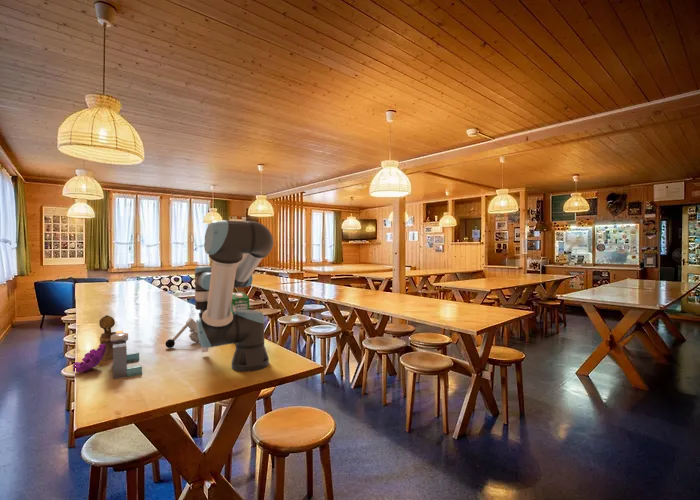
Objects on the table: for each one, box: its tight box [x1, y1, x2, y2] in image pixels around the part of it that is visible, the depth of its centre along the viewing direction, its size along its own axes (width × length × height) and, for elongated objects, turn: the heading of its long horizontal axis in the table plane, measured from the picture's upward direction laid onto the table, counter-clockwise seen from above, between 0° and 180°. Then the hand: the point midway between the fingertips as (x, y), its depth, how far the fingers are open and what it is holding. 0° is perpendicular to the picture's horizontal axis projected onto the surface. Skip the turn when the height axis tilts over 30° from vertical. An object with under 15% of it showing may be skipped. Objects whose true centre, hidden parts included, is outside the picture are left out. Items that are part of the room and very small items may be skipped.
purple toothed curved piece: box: [72, 344, 106, 373], centre depth 147 cm, size 11×15×10 cm
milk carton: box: [230, 291, 250, 315], centre depth 192 cm, size 9×9×25 cm
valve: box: [165, 317, 200, 349], centre depth 183 cm, size 10×18×15 cm
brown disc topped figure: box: [99, 315, 116, 361], centre depth 165 cm, size 9×14×18 cm, turn 40°
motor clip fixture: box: [111, 330, 143, 380], centre depth 148 cm, size 22×10×14 cm, turn 33°
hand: (204, 351), depth 165 cm, fingers closed
